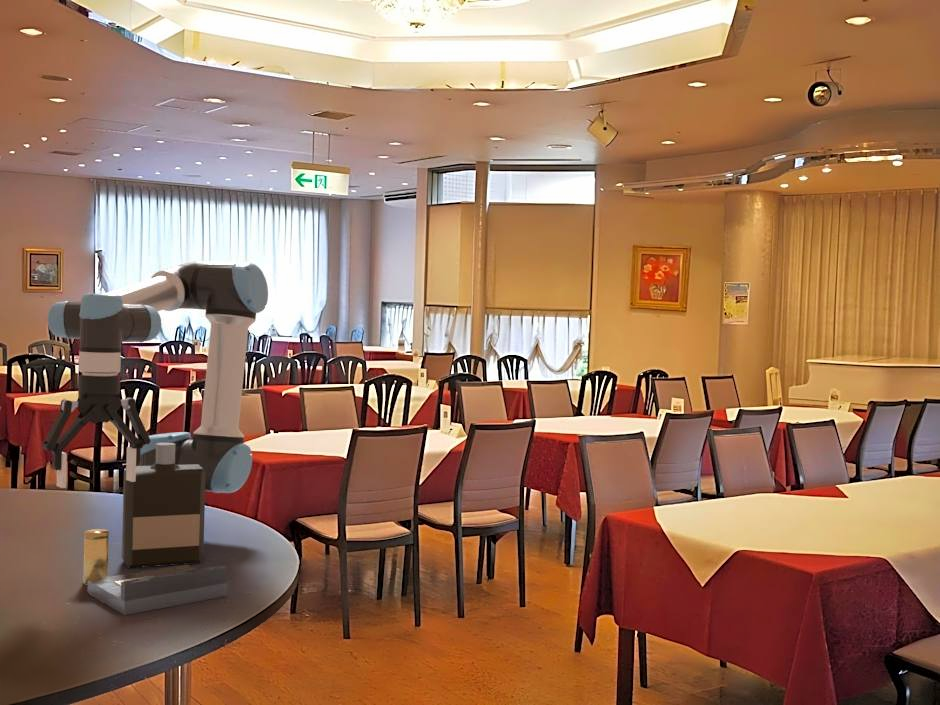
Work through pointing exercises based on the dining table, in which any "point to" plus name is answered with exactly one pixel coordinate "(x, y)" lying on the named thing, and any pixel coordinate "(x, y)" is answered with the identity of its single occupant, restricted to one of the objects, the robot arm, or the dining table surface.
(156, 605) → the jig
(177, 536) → the brown box
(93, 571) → the gold cylinder
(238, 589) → the dining table surface
